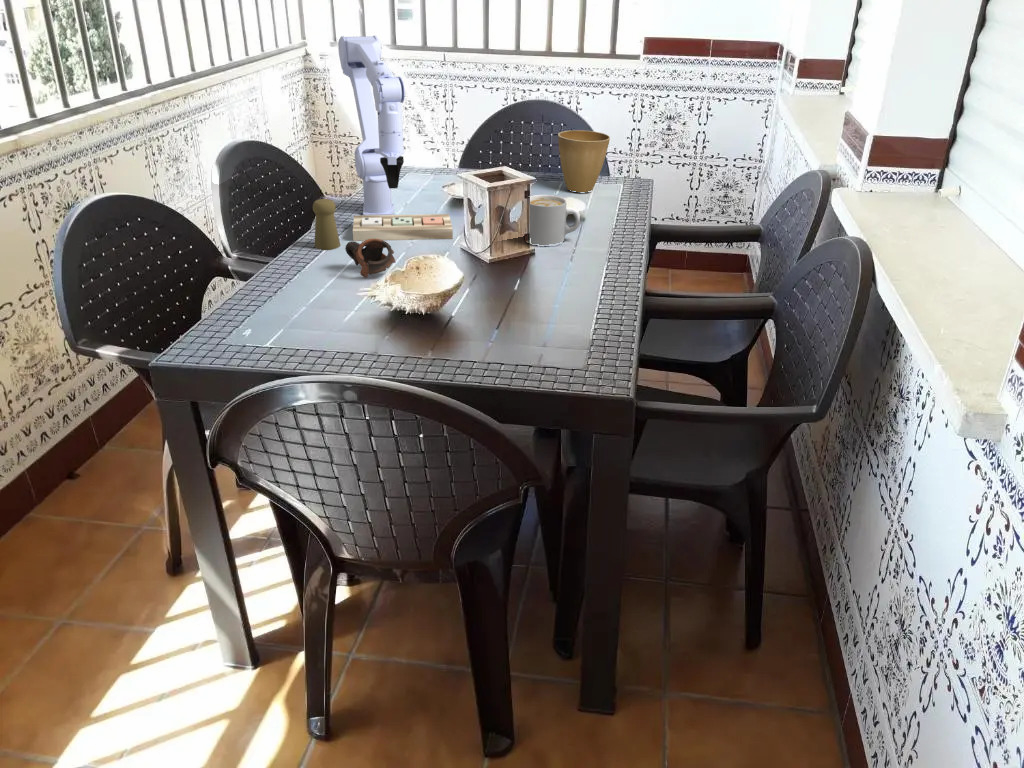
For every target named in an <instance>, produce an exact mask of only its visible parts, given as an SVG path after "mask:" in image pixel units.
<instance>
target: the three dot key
mask: <svg viewBox="0 0 1024 768" xmlns="http://www.w3.org/2000/svg"><path fill="white" fill-rule="evenodd" d="M393 226H413V223H412V217H397V218H393Z"/></svg>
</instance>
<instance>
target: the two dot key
mask: <svg viewBox="0 0 1024 768" xmlns="http://www.w3.org/2000/svg"><path fill="white" fill-rule="evenodd" d="M362 226H382V218H362Z"/></svg>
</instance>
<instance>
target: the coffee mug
mask: <svg viewBox="0 0 1024 768" xmlns="http://www.w3.org/2000/svg"><path fill="white" fill-rule="evenodd" d="M529 197H530V238H531V243H532V244H539V245H549V244H556V243H560V242H562V241H563V240H564V241H565V237H566V235H568V234H571V233H573V232H575V231H576V230H577V229H578V228H579V227H580V224H581V223H580V222H581V215H580V212H579V211H578V209H576V208H574V207H568V206H567V199H566V198H564V197H561V196H557V195H551V194H535V195H531V196H530V195H529ZM570 214H572V215H573V216H574V223H573V224H572V225H569V224H567V217H568V215H570Z"/></svg>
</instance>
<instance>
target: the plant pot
mask: <svg viewBox="0 0 1024 768" xmlns="http://www.w3.org/2000/svg"><path fill="white" fill-rule="evenodd" d="M557 139H558V152H559V159H560V160H559V161H560V164H561V165H560V166H561V170H562V175H563V179H564V184H565V187H566V190H567V189H568V190H571V191H576V192H588V191H591V190H592V191H593V190H594V188H595V185H596V184H597V181H598V179H599V177H600V174H601V171H602V168H603V165H604V163H605V160H606V158H607V157H606V156H607V153H608V149H609V148H608V147H609V144H610V140H611V137H610V135H609V134H606V133H603V132H599V131H592V130H584V129H583V130H582V129H581V130H579V129H578V130H576V129H575V130H573V129H572V130H565V131H560V132H558V134H557ZM568 190H567V191H568Z"/></svg>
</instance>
